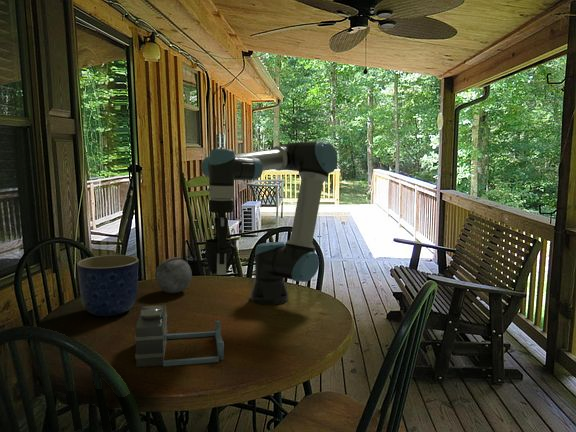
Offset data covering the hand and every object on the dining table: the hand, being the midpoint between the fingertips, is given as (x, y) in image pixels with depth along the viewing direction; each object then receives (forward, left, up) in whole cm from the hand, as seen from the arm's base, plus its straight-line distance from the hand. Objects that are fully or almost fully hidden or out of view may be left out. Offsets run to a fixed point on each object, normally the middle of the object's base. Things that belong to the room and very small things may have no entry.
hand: (220, 270), depth 140 cm
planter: (+38, -29, -22) cm, 53 cm away
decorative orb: (+16, -49, -22) cm, 56 cm away
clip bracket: (+9, +9, -21) cm, 25 cm away
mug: (0, +1, 0) cm, 1 cm away
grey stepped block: (+20, +9, -21) cm, 31 cm away
